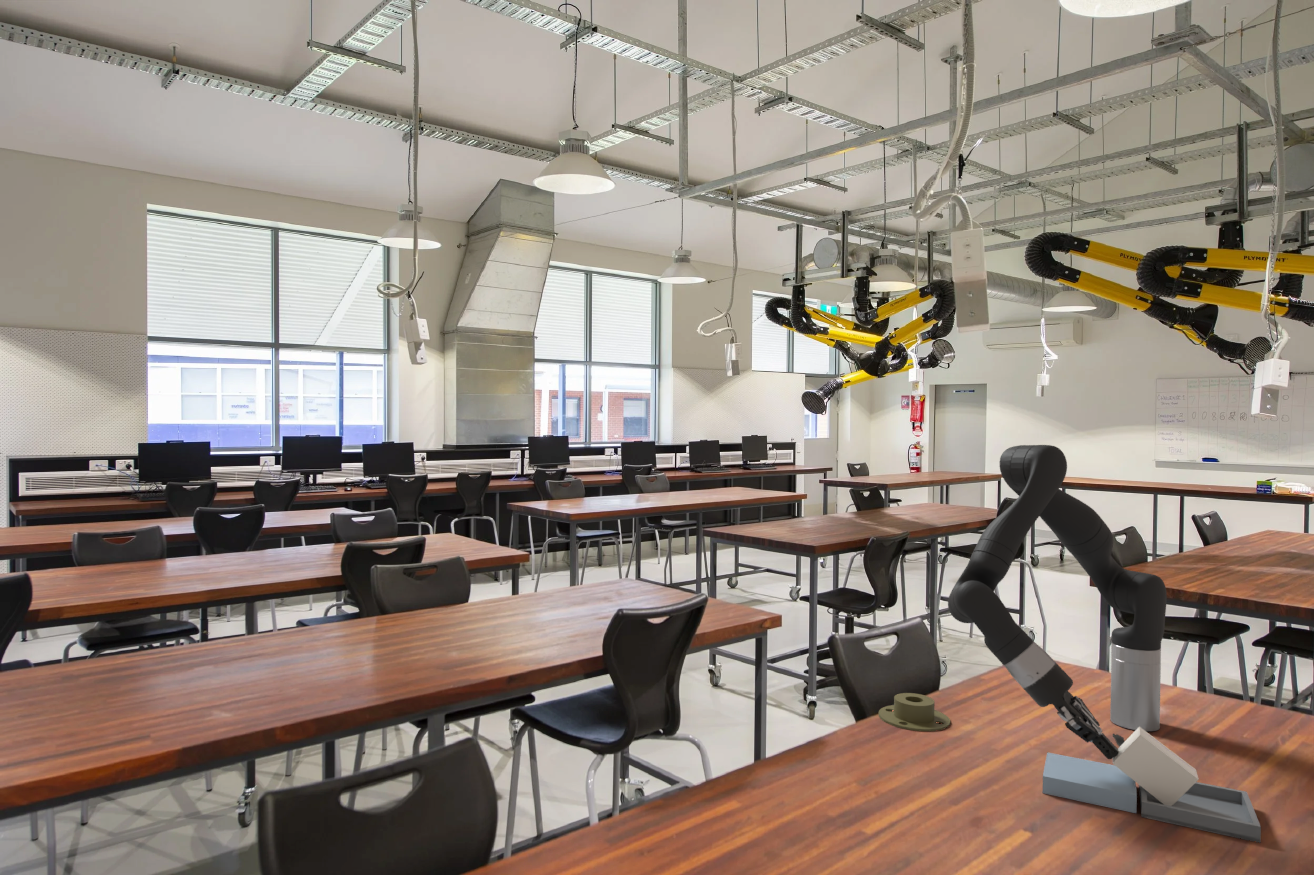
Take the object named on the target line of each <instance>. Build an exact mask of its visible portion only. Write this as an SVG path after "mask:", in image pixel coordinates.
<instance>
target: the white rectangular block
mask: <svg viewBox="0 0 1314 875" xmlns="http://www.w3.org/2000/svg"><path fill="white" fill-rule="evenodd" d="M1124 741H1125V742H1124V743H1123V744H1122V745H1121V746H1120V747H1119V746H1118V747H1117V749H1118V755H1116V756H1115V757H1113V758H1112V759H1111V760H1112V765H1115V766H1116V767H1118V768H1119V769H1120V770H1121V771H1123V772H1124V773H1125V774H1126V775H1128V776H1129V777H1130V778H1131V779H1133V780H1134V781H1135V782H1136V784H1138V786H1139V785H1140V786H1141V787H1143V788H1144V789H1145V790H1146V791H1148V792H1149V793H1150V794H1151V795H1153V796H1154V797H1155V798H1156V799H1158V800H1159V801H1160V802H1162V803H1163V804H1164V805H1168V806H1172V805H1173V804H1174V803H1175V802H1176V801H1177V800H1178V799H1179V798H1180V797H1181V796H1183V795H1184V794H1185V793H1186V792H1187V791H1188V790H1189V789H1190V788H1191V787H1192V786H1193V785H1194V784H1195V783H1196V782H1199V775H1198V773H1197V769H1196V768H1195V767H1193V766H1192V765H1190V764H1189V763H1188V762H1187V761H1185V760H1184V759H1182V758H1181V757H1180V756H1179V755H1178V754H1177V753H1175V752H1174V751H1173V750H1170V748H1168V747H1167V746H1166V745H1164V744H1163V743H1162V742H1161V741H1159V740H1158V739H1157V738H1155V737H1154V736H1152V735H1151V734H1150V733H1148V731H1145V730H1143V729H1142V728H1141V727H1138V728H1137V729H1136V730H1134V731H1133V732H1132V733H1131V735H1129V737H1127V739H1126V740H1124Z"/></svg>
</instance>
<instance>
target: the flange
mask: <svg viewBox="0 0 1314 875" xmlns="http://www.w3.org/2000/svg"><path fill="white" fill-rule="evenodd" d="M893 700H894V701H893V704H892V705H886V706H884V707H881V708H880V709H879V710H878V718H879V719H880V720H882V721H883V723H886V724H888V725H890V726H893V727H895V728H900V729H902V730H908V731H913V732H914V731H915V732H937V731H936V730H939V731H942V729H943V730H945V729H944V728H946V727H948V726H949V725H950V726H951V719H950V717H949V716H948V715H947V714H945V713H944V712H941V711H939V710H936V709H935V704H936V702H935V700H934V699H933V698H932V697H929V696H927V695H924V694H921V693H913V692H902V693H898V694H895V695H894V696H893ZM892 710H894V711H893V712H892ZM936 722H939V723H942V724H939V723H936ZM950 726H949V727H950ZM949 727H948V728H949ZM946 729H947V728H946Z"/></svg>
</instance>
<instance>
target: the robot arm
mask: <svg viewBox="0 0 1314 875" xmlns="http://www.w3.org/2000/svg"><path fill="white" fill-rule="evenodd" d="M999 471H1000V474H1001V477H1002V478H1003V481H1004V482H1005V483H1006V484H1007V486H1008V487H1009V488H1010V489H1011V490H1012V491H1013V492H1014V493H1015V494H1016V495H1018V496H1017V498H1016V500H1014V501H1013V503H1011V504H1010V506H1008V507H1007V508H1006V509H1005V510H1004V511H1003V512H1002V513H1001V514H999V515H998V516H997V517H996V518H994V519H993V520H992V521H991V522H990V523H989V524H988V526H987V527H986V528H985V529H984V531H983V532H982V533H981V536H979V539H978V541H977V542H976V546H975V547H974V549H973V551H972V553H971V556H970V558H969V561H968V563H967V565H966V567H965V568H964V570H963V571H962V572H961V574H960V576H959V578H958V579H957V581H956V583H955V584H954V586H953V587H952V589H951V591H950V593H949V596H948V599H947V607H948V611H949V613H950V615H951V616H952V618H954V620H956V621H958V622H960V623H962V624H974V625H975V626H976V628H978V630H979V631H980V632H981V634H982V635H983V636H984V645H985V646H986V647H987V649H988V650H989V651H990V652H991V653H992V654H993V655H994V657H996V658H997V660H998V661H999V662H1000V663H1001V664H1002V665H1003V666H1004V667H1005V669H1006V670H1007V671H1008V673H1009V675H1010V676H1011V677H1012V678H1013V680H1015V681H1016V682H1017V684H1019V686H1020V687H1021V688H1022V689H1023V690H1024V691H1025V693H1027V694H1028V696H1029V697H1030V698H1031V699H1032V700H1033V701H1034V702H1035V703H1036V704H1037V705H1038V706H1039V707H1040V708H1045V707H1048V706H1049V705H1052V706H1054V708H1055V709H1056V710H1057V712H1056V713H1057V716H1059V718H1060V719H1062V721H1064V722H1065V723H1064V726H1065V727H1066V728H1067V729H1068V730H1070V731H1071V732H1072V733H1073V734H1075V735H1076V736H1077V737H1079V738H1080V739H1082V740H1083V741H1085V742H1086V743H1092V744H1093V745H1094V746H1095V747H1096V748H1097V750H1098V751H1100V753H1101V754H1103V756H1104V757H1105V758H1106V759H1108V760H1112V758H1113V757H1115V756H1116V755H1118V747H1117V746H1116V745H1115V744H1114V743H1113V742H1112V741H1111V740H1110V739H1109V738H1108V737H1107V735H1105V733H1104V732H1103V729H1102V727H1100V725H1101V724H1100V722H1099V721H1098V720H1097V719H1096V717H1095V716H1094V715H1093V713H1092V712H1091V710H1090V709H1089V708H1088V706H1087V705H1086V703H1084V700H1083V699H1082V698H1081V697H1078V696H1077V695H1073V694H1072V693H1071V692H1070V691H1069V690H1070V689H1071V688H1072V686H1073V685H1074V680H1073V679H1072V677H1070V676H1069V675H1068V674H1067V673H1066V671H1064V669H1063V668H1062V667H1061V666H1060V665H1059V664H1058V663H1057V662H1056V661H1055V659H1053V658H1052V656H1051V655H1049V653H1047V651H1046V650H1045V649H1043V648H1042V647H1041V646H1039V644H1037V643H1036V642H1035V641H1034V640H1033V639H1032V638H1031V637H1030V636H1029V635H1028V634H1027V633H1026V631H1025V630H1023V628H1021V626H1020V625H1018V624H1017V623H1016V621H1015V620H1014V618H1013V616H1012V614H1011V613H1010V611H1009V610H1008V609H1007V607H1006V605H1005V604H1004V602H1003V601H1002V600H1001V598H1000V597H999V596H998V595H997V593H995V590H996V588H997V586H998V585H999V583H1001V581H1002V580H1004V578H1005V576H1006V575H1007V574H1008V571H1009V570H1010V568H1011V566H1012V564H1013V562H1014V559H1015V558H1016V555H1017V552H1018V550H1019V549H1020V547H1021V545H1022V543H1023V541H1024V539H1025V537H1026V536H1027V534H1028V533H1029V531H1030V530H1031V529H1032V527H1033V526H1034V524H1035V522H1036V521H1037V520H1038V519H1039V518H1040V519H1041V520H1042V521H1043V522H1044V523H1045V524H1046V525H1047V527H1048V528H1049V529H1050V530H1051V531H1052V532H1053V534H1054V535H1055V536H1056V537H1057V539H1058V540H1059V541H1060V542H1061V544H1062V545H1063V546H1064V547H1065V549H1066V550H1067V551H1068V552H1069V553H1070V554H1071V555H1072V556H1073V558H1074V559H1075V561H1077V562H1078V564H1079V565H1080V566H1081V568H1082V569H1083V570H1084V571H1085V572H1086V573H1087V576H1089V578H1090V580H1091V581H1092V582H1093V584H1094V586H1095V587H1096V589H1097V590H1098V592H1099V593H1100V595H1101V597H1102V598H1103V600H1104V601H1105V602H1106V604H1107V605H1108V606H1110V608H1112V609H1114V610H1116V611H1119V612H1124V613H1128V614H1133V615H1134V616H1133V617H1134V618H1133V622H1132V624H1131V625H1129V626H1122V627H1116V628H1113V630H1112V631H1111V641H1110V642H1111V644H1110V645H1111V646H1110V647H1111V649H1110V650H1111V652H1110V653H1111V654H1110V655H1111V656H1110V658H1111V659H1110V661H1111V662H1110V664H1111V665H1110V710H1109V711H1110V714H1109V716H1110V721H1111V723H1113V724H1114V725H1117V726H1118V727H1121V728H1125V729H1129V730H1132V731H1133V730H1134V731H1135V730H1136V729H1137V728H1138V727H1141V728H1142V729H1143V730H1145V731H1146V732H1156V731H1158V730H1160V727H1161V723H1160V722H1161V674H1162V673H1161V671H1162V670H1161V669H1162V668H1161V666H1162V663H1161V661H1162V658H1161V656H1162V640H1163V639H1164V638H1163V637H1164V634H1165V628H1166V627H1165V626H1166V625H1165V624H1166V622H1165V621H1166V612H1167V600H1168V599H1167V598H1168V595H1167V588H1166V585H1165V583H1164V580H1163V579H1162V578H1161V577H1160V576H1159V575H1155V574H1152V573H1146V572H1141V571H1135V570H1128V569H1126V568H1123V567H1122V566H1121V565H1120V564H1119V563H1118V562H1117V561H1116V559H1114V557H1113V556H1112V552H1113V549H1114V536H1113V533H1112V531H1111V529H1110V528H1109V526H1108V525H1107V523H1106V522H1105V521H1104V520H1103V518H1102V517H1101V516H1100V514H1098V513H1097V511H1095V510H1094V508H1092V507H1091V506H1090V505H1089V504H1087V503H1085V502H1084V501H1082V500H1080V499H1078V498H1076V497H1074V496H1073V495H1071V494H1069V493H1067V492H1065V491H1064V490H1062V489H1060V487H1061V486H1062V484H1063V483H1064V481H1065V478H1066V475H1067V473H1068V472H1067V471H1068V462H1067V457H1066V455H1065V453H1064V452H1063V451H1062V450H1061V449H1060V448H1059V447H1057V446H1055V445H1051V444H1029V445H1028V444H1027V445H1026V444H1023V445H1013V446H1011V447H1008V448H1007V449H1005V450H1004V451H1003V452H1002V453H1001V455H1000V457H999Z"/></svg>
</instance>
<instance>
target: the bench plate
mask: <svg viewBox="0 0 1314 875" xmlns="http://www.w3.org/2000/svg"><path fill="white" fill-rule="evenodd" d="M1042 794H1045V795H1050V796H1053V797H1059V798H1064V799H1067V800H1074V801H1077V802H1081V803H1086V804H1091V805H1097V806H1102V807H1104V808H1105V807H1106V808H1109V809H1115V810H1120V811H1124V812H1127V813H1128V812H1129V813H1133V814H1137V805H1138V803H1137V800H1138V799H1137V798H1138V796H1137V795H1138V793H1137V783H1136V782H1135V781H1134V780H1133V779H1131V778H1130V777H1129V776H1128V775H1126V774H1125V773H1124V772H1123V771H1121V770H1120V769H1119V768H1118V767H1116V766H1115V765H1114V764H1111V763H1110V764H1109V763H1103V762H1099V761H1094V760H1090V759H1085V758H1078V757H1073V756H1067V755H1063V754H1058V753H1053V752H1049V751H1048V752H1047V753H1046V757H1045V762H1044V767H1043V774H1042Z"/></svg>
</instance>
